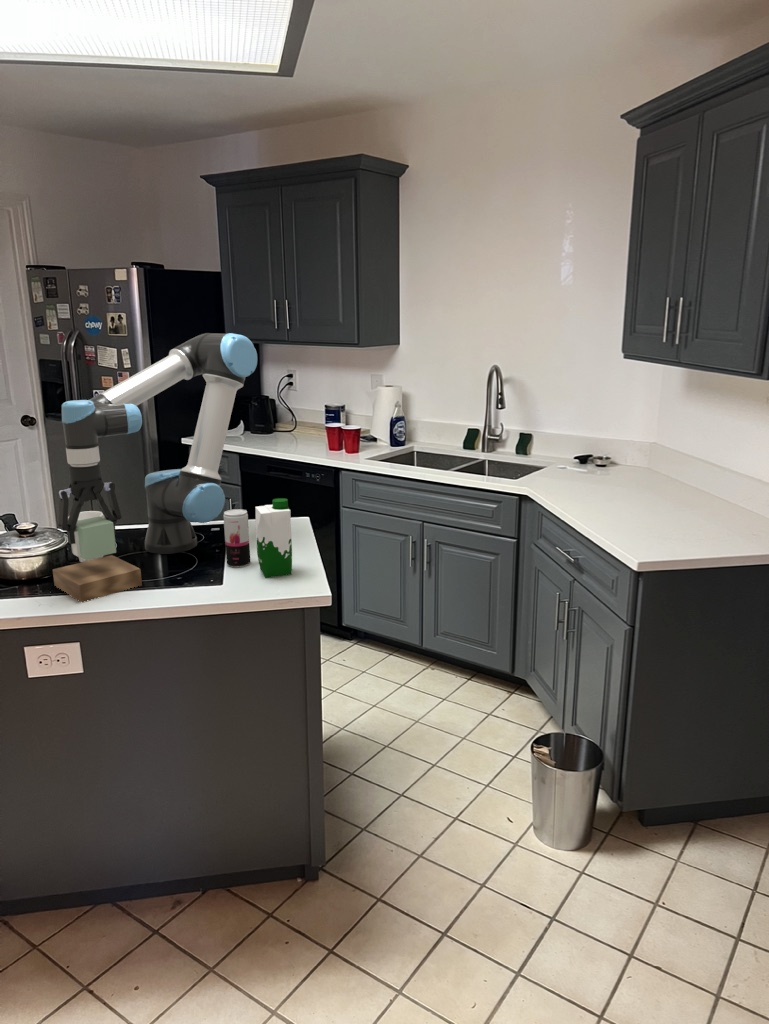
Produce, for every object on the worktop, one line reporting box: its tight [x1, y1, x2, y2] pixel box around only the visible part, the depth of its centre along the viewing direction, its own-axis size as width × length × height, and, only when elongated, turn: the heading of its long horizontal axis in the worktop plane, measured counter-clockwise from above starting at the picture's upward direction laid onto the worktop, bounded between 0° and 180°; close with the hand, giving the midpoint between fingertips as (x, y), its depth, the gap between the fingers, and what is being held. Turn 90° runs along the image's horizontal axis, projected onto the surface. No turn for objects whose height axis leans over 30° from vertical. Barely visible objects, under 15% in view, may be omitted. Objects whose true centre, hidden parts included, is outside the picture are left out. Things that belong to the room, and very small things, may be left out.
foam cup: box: [68, 510, 106, 563], centre depth 213 cm, size 10×9×13 cm
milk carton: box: [254, 497, 293, 579], centre depth 200 cm, size 9×9×20 cm
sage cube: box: [70, 517, 117, 560], centre depth 191 cm, size 8×8×8 cm
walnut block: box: [52, 554, 143, 603], centre depth 194 cm, size 16×16×5 cm
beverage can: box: [222, 508, 251, 568], centre depth 208 cm, size 6×7×15 cm
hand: (94, 551), depth 192 cm, fingers closed on sage cube, 8 cm apart
